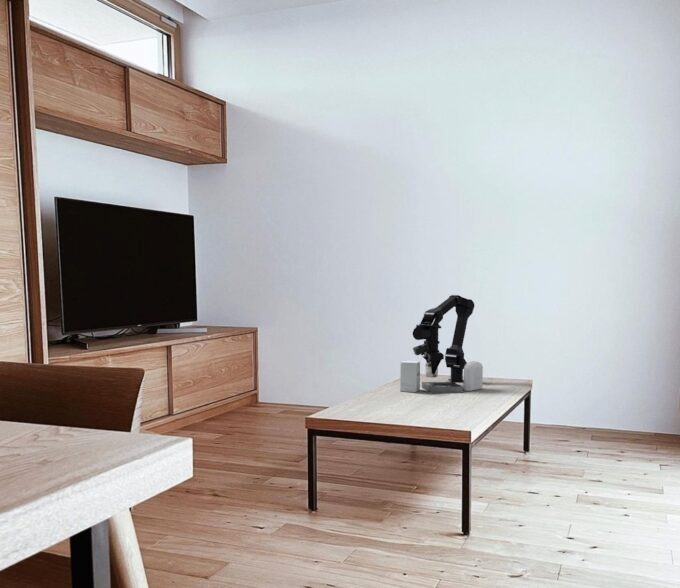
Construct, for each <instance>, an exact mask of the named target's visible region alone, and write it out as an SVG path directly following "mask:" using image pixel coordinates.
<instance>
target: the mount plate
mask: <svg viewBox="0 0 680 588" xmlns="http://www.w3.org/2000/svg"><path fill="white" fill-rule="evenodd" d="M421 388H422V389H423V390H425V391H426V392H428V393H429V394H447V393H449V394H452V393H453V394H454V393H455V394H456V393H459V394H460V393H463V385H462V386H461V385H460V384H458V383H457V382H451V381H422V382H421Z"/></svg>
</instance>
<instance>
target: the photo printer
mask: <svg viewBox="0 0 680 588" xmlns="http://www.w3.org/2000/svg"><path fill="white" fill-rule="evenodd" d="M483 369H484V366H483V364H482V363H481V362H479V361H474V360H473V361H472V360H471V361H470V362H467V364H466V365H465V366H464V369H463V380H464V382H463V385H462V389H463V391H465V392H471V391H472V392H473V391H476V390H482V389H483V380H484V379H483V373H484V370H483Z"/></svg>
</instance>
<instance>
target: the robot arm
mask: <svg viewBox="0 0 680 588" xmlns="http://www.w3.org/2000/svg"><path fill="white" fill-rule="evenodd" d="M453 308H455V310H454V311H455V313H456V316H457V318H456V322H455V327H454V332H453V337H452V341H451V345H450V347H447V348H446V349H445V354H443V353H442V352H440V350H439V344H440V341H439V329H442V326H441V325H440V322H442V321H443V319H444V315H445V314H447V313H448V312H449V311H451V310H452V309H453ZM474 309H475V302H474V301H473V299H470V298H465V297H463V296H461V295H458V294H451V295H449V296H448V297H447V298H446V299H445V300H444V301H443V302H441V303H440V304H438V306H436V307H432V308H430V309H427V310H425V311H424V312H423V316H422V317H421V320H420V322H419V324H416V327H414V329H413V331H412V336H413V338H414V339H415V340H416V341H420V340H421V341H423V344H419V345H417V346H414V347H412V351H413V352H414V353H413V354H414V355H415V356H420V355H421V356H422V358H423V359H424V360H425V363H431V370H432V374H435V372H436V370H437V368H439V365H440V363H441V361H442V360H444V361H445V365H446V368H450V378H448V381H449V382H454V383H459V382H460V383H461V382H464V366H465V365H466V364H467V363H468V362H467V361H466V359H465V353H464V350H463V345H464V339H465V335H466V329H467V324H468V320H469V318H470V316H472V314H473V312H474Z"/></svg>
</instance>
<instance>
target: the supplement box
mask: <svg viewBox="0 0 680 588" xmlns="http://www.w3.org/2000/svg"><path fill="white" fill-rule="evenodd" d="M399 373H400V379H399V381H400V384H399V391H400V392H405V393H406V392H407V393H417V392H418V391H420V390H421V389H420V388H421V361H420V360H402V361H401V362H400V372H399Z"/></svg>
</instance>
